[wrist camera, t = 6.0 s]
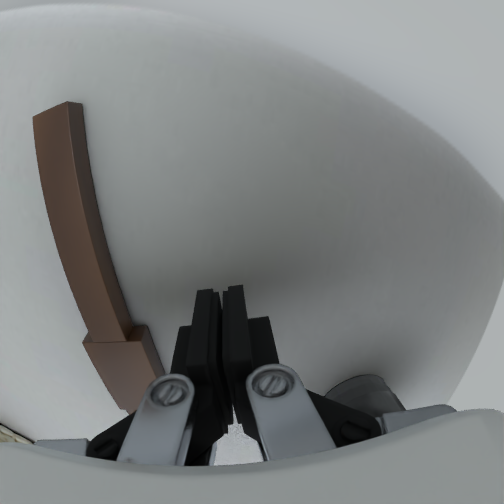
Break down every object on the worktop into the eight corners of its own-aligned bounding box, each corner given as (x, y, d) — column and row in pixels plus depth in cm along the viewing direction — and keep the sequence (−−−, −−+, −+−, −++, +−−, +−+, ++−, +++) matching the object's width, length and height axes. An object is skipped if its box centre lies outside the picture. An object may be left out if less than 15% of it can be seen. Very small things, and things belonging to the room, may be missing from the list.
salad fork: (97, 98, 9) (83, 94, 8) (188, 423, 15) (187, 438, 14) (36, 122, 9) (20, 122, 7) (142, 422, 15) (139, 436, 14)
